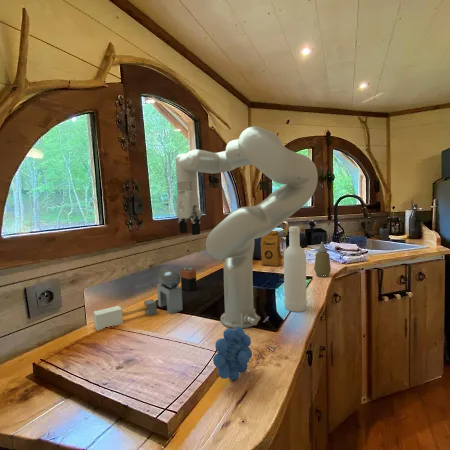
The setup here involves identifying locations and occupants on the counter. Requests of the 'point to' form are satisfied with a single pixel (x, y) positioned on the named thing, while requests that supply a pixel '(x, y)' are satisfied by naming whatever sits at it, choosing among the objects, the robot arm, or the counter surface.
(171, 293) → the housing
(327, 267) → the squeeze bottle
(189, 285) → the battery
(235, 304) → the robot arm
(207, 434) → the counter surface
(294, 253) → the bottle
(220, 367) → the grapes
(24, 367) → the counter surface
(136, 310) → the white mallet
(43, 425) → the counter surface
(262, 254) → the coffee package
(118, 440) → the counter surface
